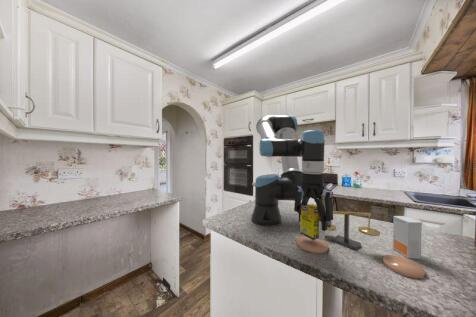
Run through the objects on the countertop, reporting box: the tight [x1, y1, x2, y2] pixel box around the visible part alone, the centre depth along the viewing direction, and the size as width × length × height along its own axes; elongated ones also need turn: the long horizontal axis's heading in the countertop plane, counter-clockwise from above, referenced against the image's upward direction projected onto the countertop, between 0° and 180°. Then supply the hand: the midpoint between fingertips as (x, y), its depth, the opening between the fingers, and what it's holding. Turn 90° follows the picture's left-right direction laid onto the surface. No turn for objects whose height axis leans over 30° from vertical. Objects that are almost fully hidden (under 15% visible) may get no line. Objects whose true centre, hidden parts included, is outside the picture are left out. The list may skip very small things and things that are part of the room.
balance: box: [326, 210, 381, 251], centre depth 65 cm, size 20×6×13 cm, turn 36°
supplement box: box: [300, 203, 325, 240], centre depth 64 cm, size 6×6×11 cm
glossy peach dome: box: [382, 254, 426, 279], centre depth 51 cm, size 9×9×1 cm
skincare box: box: [392, 215, 423, 260], centre depth 58 cm, size 6×4×12 cm
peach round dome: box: [295, 234, 330, 255], centre depth 64 cm, size 11×11×1 cm
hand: (312, 234), depth 64 cm, fingers closed on supplement box, 7 cm apart
